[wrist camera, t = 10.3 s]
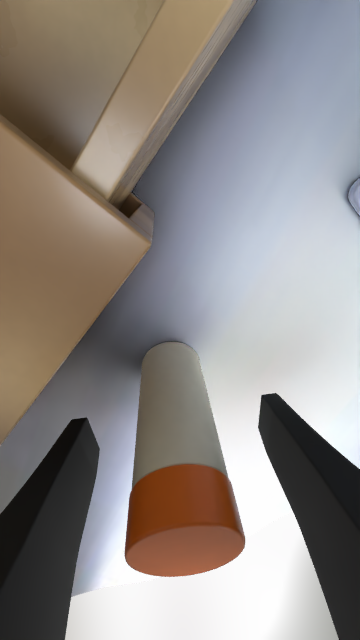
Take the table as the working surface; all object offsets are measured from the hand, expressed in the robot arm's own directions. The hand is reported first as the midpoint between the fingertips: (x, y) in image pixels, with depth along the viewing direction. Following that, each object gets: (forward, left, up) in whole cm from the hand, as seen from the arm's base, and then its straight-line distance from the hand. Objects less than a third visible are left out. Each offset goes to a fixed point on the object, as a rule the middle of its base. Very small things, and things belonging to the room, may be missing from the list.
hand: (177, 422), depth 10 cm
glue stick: (0, 0, -4) cm, 4 cm away
